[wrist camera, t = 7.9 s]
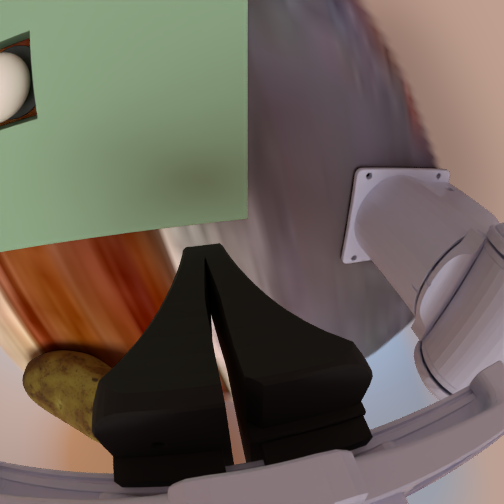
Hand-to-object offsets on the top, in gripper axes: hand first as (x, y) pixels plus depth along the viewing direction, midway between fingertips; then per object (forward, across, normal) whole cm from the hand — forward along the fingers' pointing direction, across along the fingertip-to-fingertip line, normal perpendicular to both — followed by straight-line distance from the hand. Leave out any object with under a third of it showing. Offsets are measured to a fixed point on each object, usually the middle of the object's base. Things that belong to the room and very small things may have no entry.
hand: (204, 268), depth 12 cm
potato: (+10, +12, +17) cm, 23 cm away
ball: (+7, +10, -8) cm, 15 cm away
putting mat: (+9, +7, -6) cm, 13 cm away
